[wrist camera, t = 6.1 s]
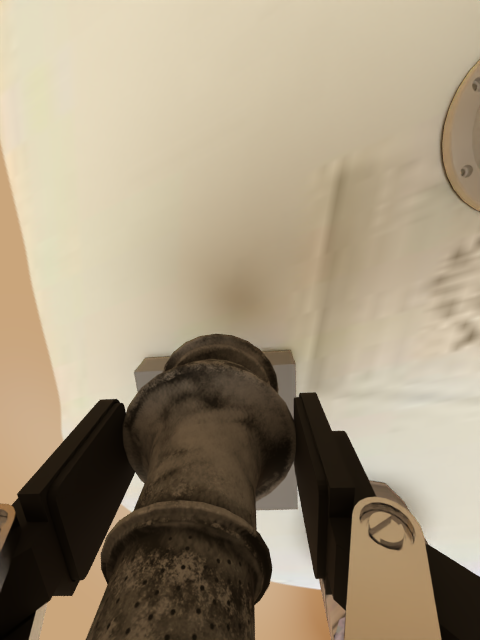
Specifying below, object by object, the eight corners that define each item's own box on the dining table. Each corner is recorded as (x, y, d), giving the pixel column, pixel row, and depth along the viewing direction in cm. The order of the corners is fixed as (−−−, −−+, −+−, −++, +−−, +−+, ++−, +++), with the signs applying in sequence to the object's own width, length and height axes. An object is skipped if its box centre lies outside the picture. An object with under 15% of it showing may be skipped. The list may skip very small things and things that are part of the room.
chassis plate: (145, 357, 29) (133, 372, 26) (290, 350, 28) (295, 363, 25) (168, 488, 33) (160, 512, 30) (293, 484, 33) (297, 509, 30)
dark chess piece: (134, 348, 13) (-835, 1344, 1) (264, 310, 12) (531, 1651, 1) (181, 455, 14) (-84, 1335, 3) (298, 427, 14) (549, 1416, 2)
